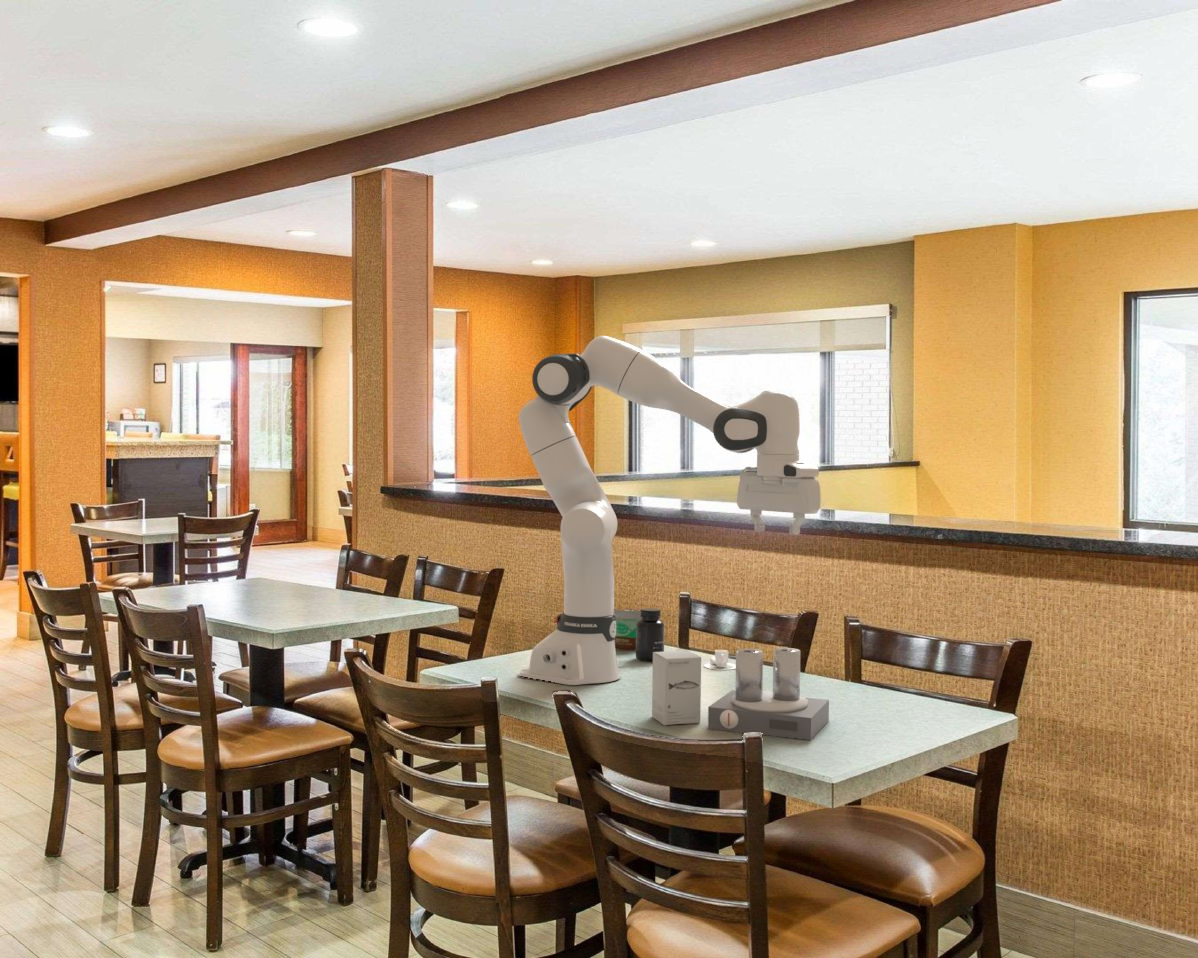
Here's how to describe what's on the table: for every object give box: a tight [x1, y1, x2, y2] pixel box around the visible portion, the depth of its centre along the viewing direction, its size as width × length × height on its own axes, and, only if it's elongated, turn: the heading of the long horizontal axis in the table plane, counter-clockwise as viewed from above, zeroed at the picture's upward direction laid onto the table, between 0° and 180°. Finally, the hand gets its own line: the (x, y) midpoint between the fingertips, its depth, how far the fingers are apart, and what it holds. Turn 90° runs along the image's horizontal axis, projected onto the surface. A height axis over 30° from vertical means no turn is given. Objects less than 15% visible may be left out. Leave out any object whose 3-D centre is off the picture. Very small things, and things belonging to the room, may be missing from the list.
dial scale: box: [707, 689, 830, 741], centre depth 211 cm, size 19×15×5 cm
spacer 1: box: [734, 648, 764, 702], centre depth 210 cm, size 5×5×9 cm
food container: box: [614, 608, 641, 651], centre depth 285 cm, size 12×6×10 cm, turn 71°
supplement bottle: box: [635, 607, 665, 662], centre depth 271 cm, size 7×7×12 cm
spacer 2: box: [772, 647, 801, 701], centre depth 212 cm, size 5×5×9 cm
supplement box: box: [651, 650, 702, 727], centre depth 214 cm, size 7×7×13 cm
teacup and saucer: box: [703, 649, 736, 671], centre depth 264 cm, size 9×8×4 cm
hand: (776, 533), depth 241 cm, fingers open, 8 cm apart
